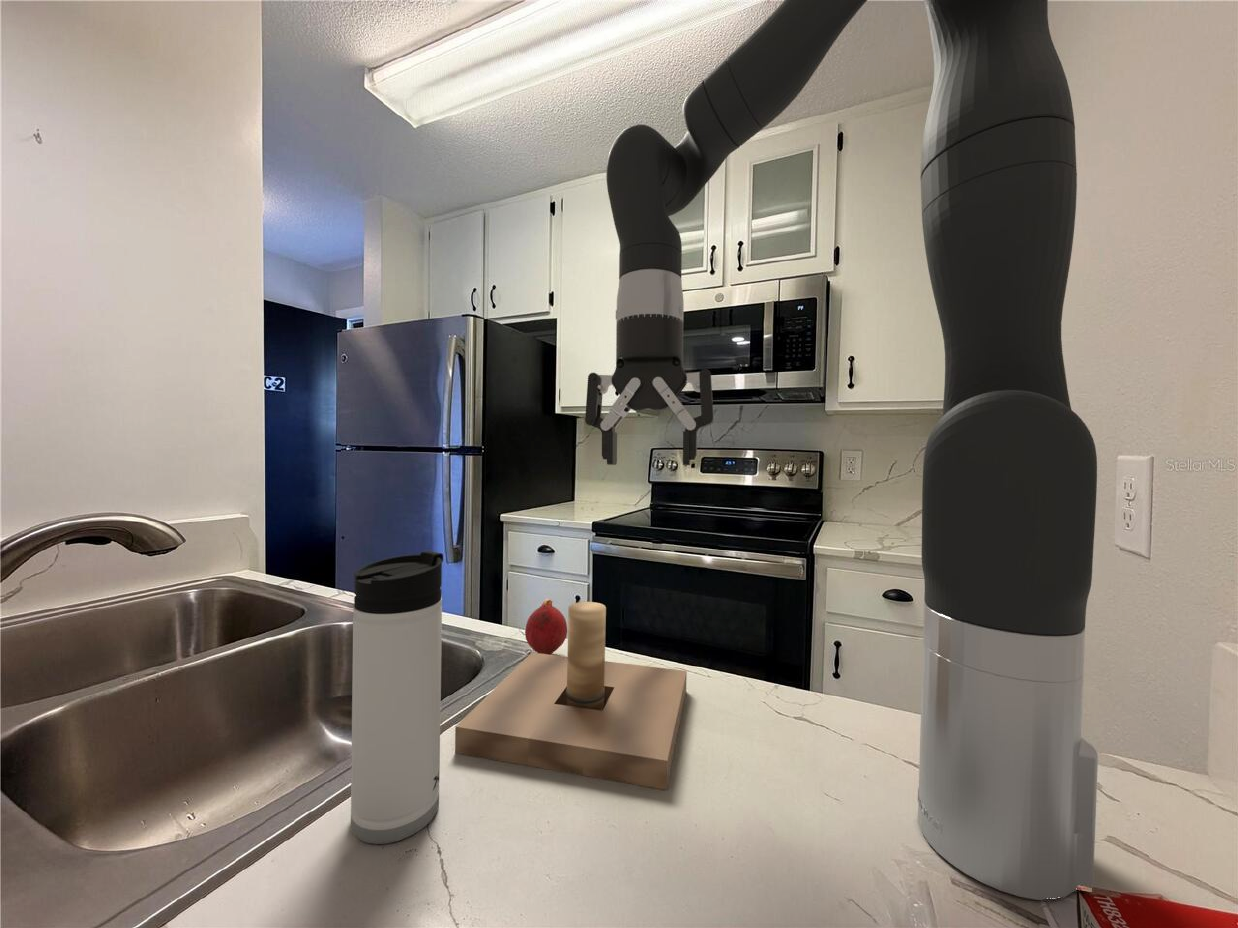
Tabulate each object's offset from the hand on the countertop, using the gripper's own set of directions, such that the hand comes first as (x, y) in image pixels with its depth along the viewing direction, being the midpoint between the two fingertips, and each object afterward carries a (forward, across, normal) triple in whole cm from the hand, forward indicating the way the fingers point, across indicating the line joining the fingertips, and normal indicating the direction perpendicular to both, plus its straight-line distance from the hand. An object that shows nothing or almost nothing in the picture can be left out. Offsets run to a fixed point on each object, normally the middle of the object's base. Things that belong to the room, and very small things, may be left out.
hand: (648, 465), depth 55 cm
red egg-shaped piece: (+27, +16, -10) cm, 33 cm away
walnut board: (+27, +6, +4) cm, 28 cm away
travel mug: (+27, +16, +21) cm, 38 cm away
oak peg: (+27, +6, +4) cm, 28 cm away
